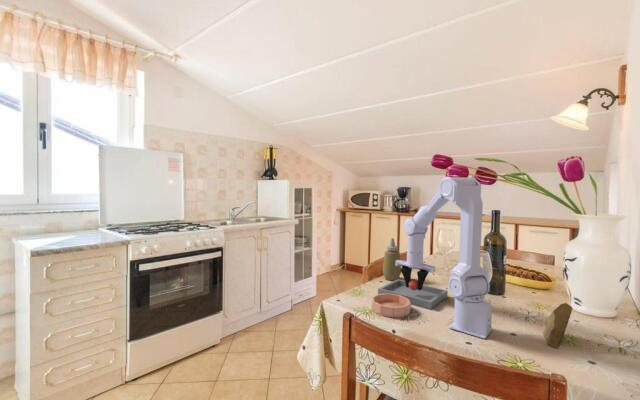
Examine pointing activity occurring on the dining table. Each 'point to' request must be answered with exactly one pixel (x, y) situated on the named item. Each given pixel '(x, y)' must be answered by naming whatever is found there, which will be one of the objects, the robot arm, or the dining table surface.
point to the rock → (557, 324)
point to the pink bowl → (391, 305)
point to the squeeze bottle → (391, 262)
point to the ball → (413, 284)
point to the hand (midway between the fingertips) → (414, 288)
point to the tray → (416, 294)
